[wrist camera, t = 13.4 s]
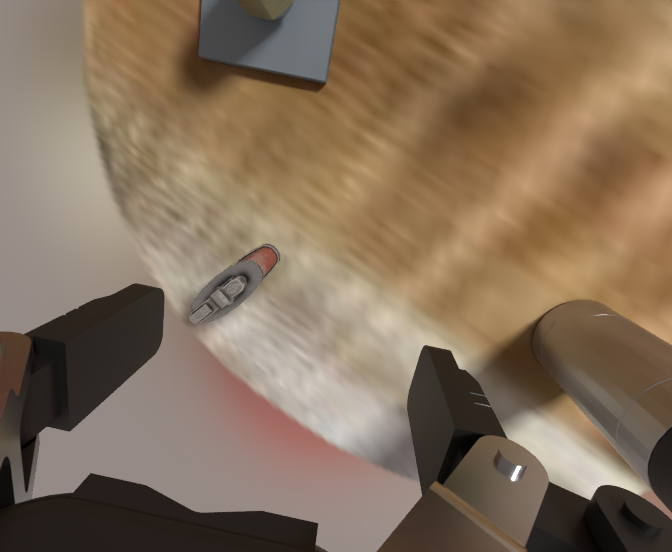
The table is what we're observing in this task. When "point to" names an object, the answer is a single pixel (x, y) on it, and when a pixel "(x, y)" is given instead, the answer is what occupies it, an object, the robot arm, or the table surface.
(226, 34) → the grey peg stand
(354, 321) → the table surface
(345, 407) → the table surface
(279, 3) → the bushing
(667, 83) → the table surface
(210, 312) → the small tin
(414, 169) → the table surface
